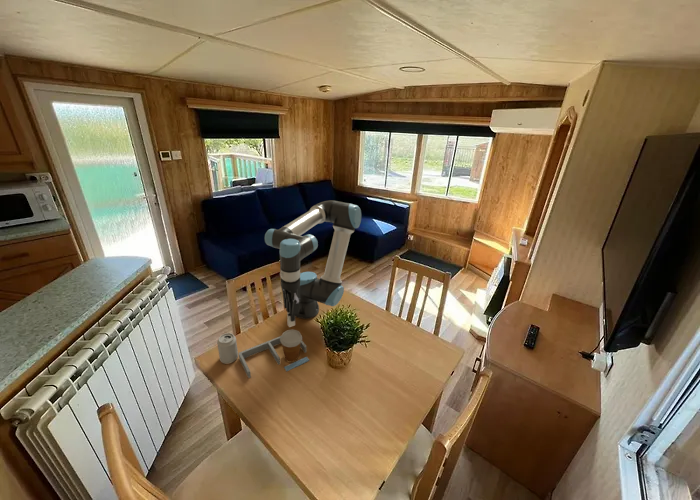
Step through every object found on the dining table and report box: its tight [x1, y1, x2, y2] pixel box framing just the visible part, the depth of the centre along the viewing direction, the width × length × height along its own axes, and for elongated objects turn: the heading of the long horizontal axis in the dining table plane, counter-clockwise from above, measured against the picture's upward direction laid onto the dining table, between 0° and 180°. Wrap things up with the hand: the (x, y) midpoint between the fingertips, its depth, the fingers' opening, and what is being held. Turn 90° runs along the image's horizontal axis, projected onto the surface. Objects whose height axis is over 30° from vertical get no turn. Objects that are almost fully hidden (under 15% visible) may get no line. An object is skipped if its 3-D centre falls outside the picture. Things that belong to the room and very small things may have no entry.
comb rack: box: [238, 335, 308, 379], centre depth 126 cm, size 27×12×4 cm, turn 127°
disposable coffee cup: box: [280, 329, 303, 363], centre depth 125 cm, size 10×10×12 cm
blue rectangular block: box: [283, 356, 310, 372], centre depth 123 cm, size 11×2×1 cm, turn 127°
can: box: [216, 332, 239, 364], centre depth 121 cm, size 8×8×12 cm
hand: (291, 325), depth 119 cm, fingers closed
